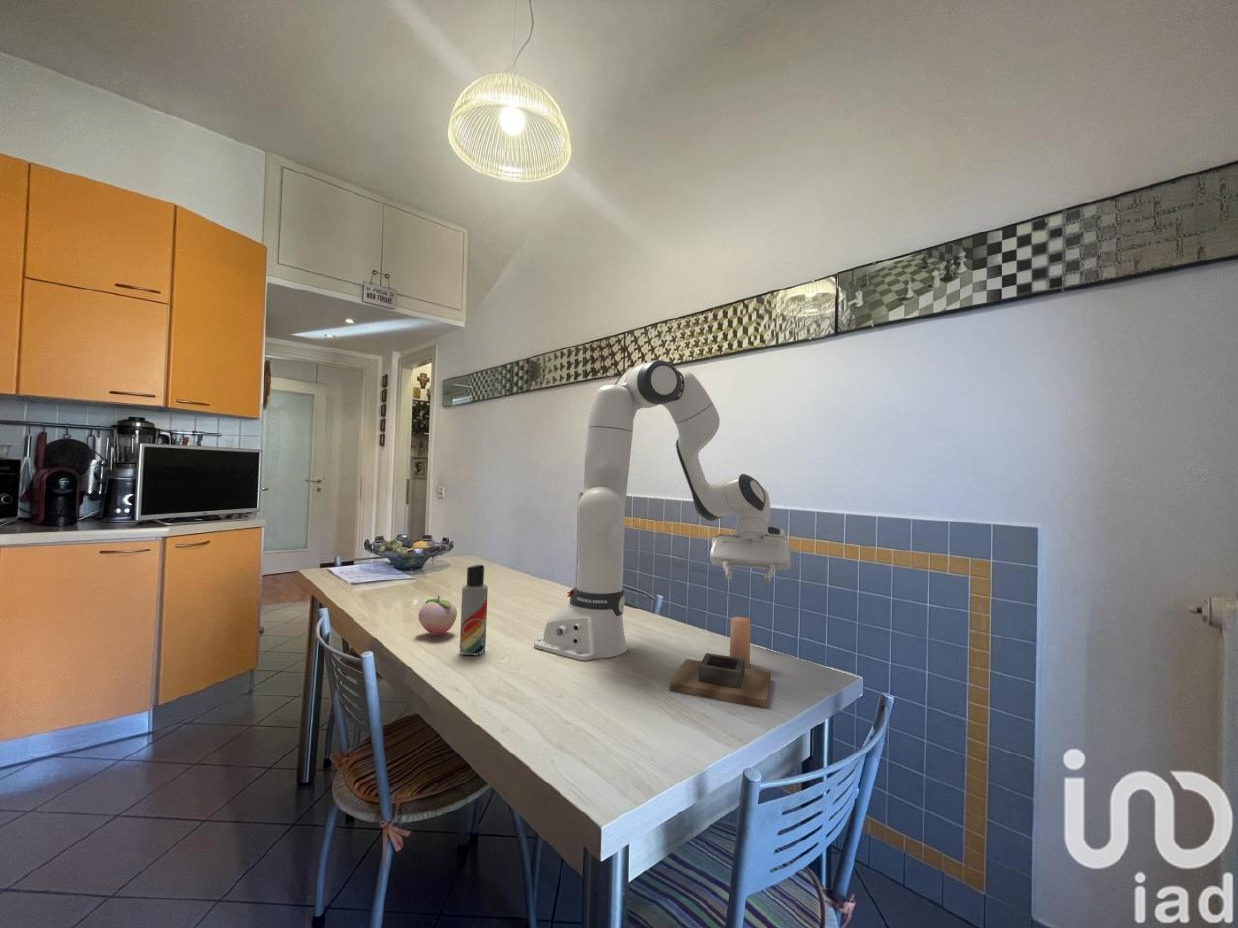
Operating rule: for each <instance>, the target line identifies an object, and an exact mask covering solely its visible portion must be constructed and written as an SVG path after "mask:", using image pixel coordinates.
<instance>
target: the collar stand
mask: <svg viewBox="0 0 1238 928" xmlns="http://www.w3.org/2000/svg"><path fill="white" fill-rule="evenodd" d="M771 679H772V677H771V672H770V671H764V670H757V669H752V668H745V659H742V658H736V657H730V655H729V656H728V655H723V654H722V655H721V654H714V653H709V652H706V653H705V655H704V656H703V659H702V660H694V659H689V658H685V659H684V661H683V663H682V664H681V665H680V667H679V669H678V670H677V671H676V673H675V675H674V676H673V678H672V679H671V680H670V682H669V692H674V693H675V692H676V693H680V694H686V695H690V696H691V695H692V696H697V697H702V698H708V699H713V700H719V701H723V702H729V703H733V704H734V703H736V704H740V705H746V706H751V707H756V708H761V709H767V705H768V698H769V693H770V685H771Z"/></svg>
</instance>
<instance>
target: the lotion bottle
mask: <svg viewBox="0 0 1238 928" xmlns="http://www.w3.org/2000/svg"><path fill="white" fill-rule="evenodd" d="M466 569H467V571H466V584H465V585H463V586H462V588H461V607H460V608H461V610H460V629H459V631H460V632H459V653H460V652H461V653H463V654H466V655H474V654H475V655H476V654H480V653H482V652H484V651H486V646H487V645H486V644H487V643H486V640H487V621H488V620H487V619H488V616H487V615H488V614H487V613H488V596H489V595H488V589H489V587H488V585H487V584H484V582H485V566H484V565H483V564H475V565H471V566H468V567H467V568H466ZM484 653H485V652H484ZM482 654H483V653H482ZM480 655H481V654H480ZM476 656H477V655H476Z"/></svg>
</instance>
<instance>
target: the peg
mask: <svg viewBox="0 0 1238 928" xmlns="http://www.w3.org/2000/svg"><path fill="white" fill-rule="evenodd" d="M751 623H752V621H751V619H750V618H749V617H748V618H747V617H742V616H734V617H733V616H732V617H730V629H729V630H730V631H729V634H730V635H729V637H730V638H729V657H736V658H742V659H745V668H746V669H749V668H750V665H751V630H752V629H751Z"/></svg>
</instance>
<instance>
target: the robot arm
mask: <svg viewBox="0 0 1238 928" xmlns="http://www.w3.org/2000/svg"><path fill="white" fill-rule="evenodd" d="M659 405H662V406H664V407H665V408H666V410H667V411H668V412H669V414H670V416H671V418H672V420H673V422H674V424H675V425H676V426H675V427H676V428H677V433H678V438H677V439H676V443H675V448H676V453H677V456H678V460H679V462H680V466H681V467H682V471H683V473H684V477H685V479H686V482H687V484H688V487H689V490H690V492H691V495H692V501H693V505H694V509H695V510H696V513H697V514H698V515H699V516H700V517H701V518H703V519H705V520H708V521H710V522H713V521H716V520H718V519H721V518H724V517H725V516H730V515H733V514H737V518H738V519H737V521H736V524H735V531H734V534H730V533H729V534H723V533H718V534H717V535H714V536H713V537H712V539H711V549H710V551H709V558H710V562H711V563H712V565H714V566H722V568H723V570H724V572H725V579H727V580H732V579H733V571H732V569H729V568H730V567H737V568H739V567H740V568H753V569H763V570H769V571H768V572H764V575H763V577H764V578H763V581H764V583H771V581H772V580H771V579H772V577H773V576H774V575H775V574H776V572H777V571H776V570H778V571H780V570H781V571H788V570H789V569H790V568H791V565H792V563H791V562H792V561H791V552H790V549H791V548H790V545H789V542H788V541H787V536H786V530H784V529H782V528H780V527H776V526H772V525H770V524H769V521H770V518H771V501H770V496H769V493H768V491H767V490H766V489H765V488H764V487H763V486H762V485H761V483H759V481H758V480H757V479H755V478H753V477H752V476H750V475H748V474H746V473H742V474H741V473H740V474H738V475H735V476H731V477H729V478H725V479H723V480H719V481H716V482H713V483H710V482H708V481H707V479H706V477H705V473H704V471H703V468H702V465H701V463H700V459H699V455H700V454H699V453H700V452H701V450H702V449H703V448H704V447H706V446H707V445H708V444H709V443H710V442H711V441H712V440H713V439H714V437H715V436H716V434H717V432H718V430H719V427H720V419H721V418H720V415H719V413H718V410H717V408H716V406H715V405H714V403H713V401H712V399H711V397H710V396H709V394H708V392H707V391H706V389H705V387H704V385H702V383H701V382H700V381H699V379H697V377H696V376H695V375H694V374H693V373H691V372H690V371H684V370H683V371H680V370H678V369H677V368H676V367H675V366H674V365H673V364H671V363H670V362H668V361H665V360H663V359H662V360H660V359H656V360H655V359H653V360H650V361H647V362H645V363H638V364H636V365H635V366H632V367H631V368H629V369H627V370H625V371H624V372H622V373H621V375H619V377H618V378H617V380H616V382H615V383H614V384H606V385H602V386H601V387H599V388H598V389H597V391H596V392H595V394H594V397H593V401H592V404H591V407H590V412H589V419H588V423H587V424H588V425H587V433H586V444H585V451H584V452H585V453H584V471H583V472H584V474H583V489H582V490H583V491H582V495H581V497H580V498H579V500H578V502H577V506H576V509H577V510H576V513H577V514H576V528H577V529H576V534H577V536H576V537H577V539H576V540H577V575H576V586H575V587H574V588H572V589H570V590H569V591H568V592H567V593H566V594H567V595H566V597H567V598H569V602H568V603H567V604H565V605H564V606H563V607H561V608H560V609H558V610H557V611H556V612H554V613H552V615H551V616H549V618H548V619H547V620H546V623H545V628H544V632H543V634H541V635H539V636H538V637H537V638H536V639H535V640H534V645H533V648H534V649H537V650H541V649H542V651H546V652H549V653H553V654H557V655H560V656H564V657H567V658H571V659H575V660H579V661H589V660H594V659H603V658H604V659H605V658H611V657H616V656H620V655H622V654H624V653H625V652H626V651H628V644H627V641H626V640H627V639H626V635H625V629H624V620H623V619H624V617H623V615H624V610H625V589H624V588H623V585H624V584H623V583H624V581H623V578H624V576H623V575H624V545H625V544H624V543H625V512H626V502H627V491H628V482H629V472H630V471H629V470H630V464H631V463H630V462H631V454H632V443H633V442H632V441H633V432H634V420H635V416H636V413H637V412H638V410H639V409H650V408H653V407H657V406H659Z"/></svg>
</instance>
